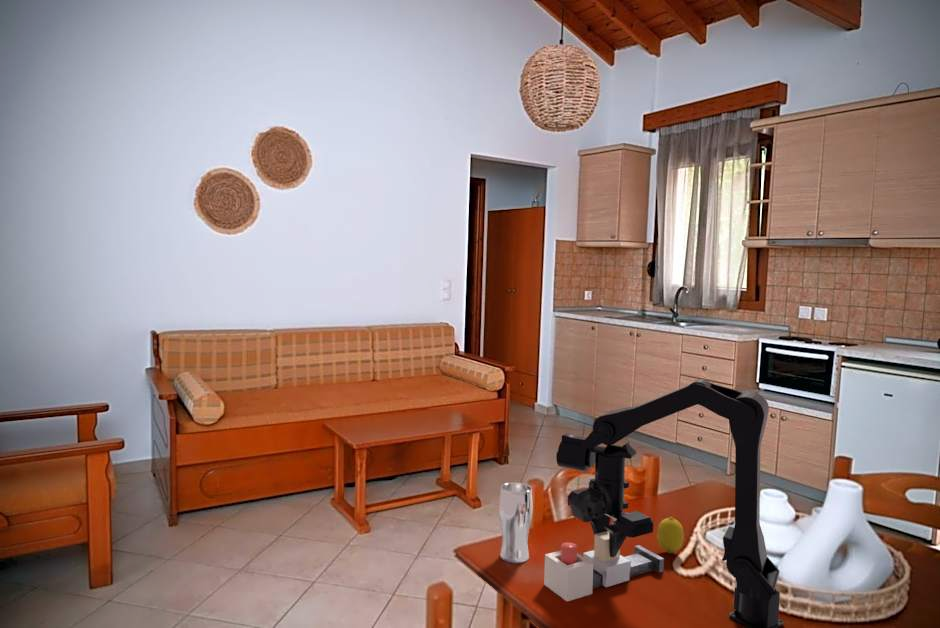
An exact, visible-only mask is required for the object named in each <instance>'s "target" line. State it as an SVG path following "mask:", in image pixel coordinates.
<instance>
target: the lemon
mask: <svg viewBox="0 0 940 628" xmlns="http://www.w3.org/2000/svg"><path fill="white" fill-rule="evenodd" d="M656 537H657V543H658V544H659V546H660V547H661V548H662V550H664V551H666V552H667V553H668V554H672V553H673V552H677V551H679V550H680V549H681V548H682V546H683V544H684V541H685V540H684V539H685V534H684V528H683V525H682V524H681V523H680V522H679V520H677V519H675V518H674V517H672V516H669V517H667V518H664V519H662V520H661V521H660V522H659V524H658V527H657V531H656Z"/></svg>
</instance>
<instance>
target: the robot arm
mask: <svg viewBox="0 0 940 628" xmlns="http://www.w3.org/2000/svg"><path fill="white" fill-rule="evenodd" d="M697 405H698V406H701V407H703V408H705V409H707V410H709V411H711V412H712V413H714V414H715V415H717V416H719V417H722V418H725V419H726V420H728V423H729V429H730V433H731V436H732V440H733V442H734V443H733V444H734V447H735V448H734V449H735V459H734V460H735V462H734V463H735V467H734V468H735V473H734V476H735V477H734V478H735V479H734V526H728V527H727V529H726V530H725V533H724V535H723V536H722V543H723V548H724V549H723V550H724V553H723V557H722V559H721V560H722V562H725V563H726V569H727V571H728V573H729V574H731V576H732V577H733V578H734V579H735V581H736V587H734V591H733V592H734V593H733V610H734V611H731V612H729V614H728V615H729V618H731V619H733V620H735V621H737V622H738V623H740V624H742V625H743V626H745V627H747V628H781V627H782V626H785V622H784V621H783V620H782V619H780V618H779V614H780V600H781V599H780V597H781V592H780V591H779V590H777V589H776V586H777V583H778V579H779V575H780V569H779V568H778V566H776V564H774V563H773V561H772V560H771V559H770V558H769V557H768V553H767V548H766V541H765V537H764V533H763V530H762V527H761V524H760V521H761V519H760V509H761V506H760V505H761V504H760V503H761V499H760V498H761V445H762V441H763V437H764V434H765V430H766V425H767V421H768V415H769V412H770V408H769V403H768V401H767V400H766V399H765V398H764V396H763V395H761V394H760V393H758V392H754V391H745V392H742V391H740V390H736V389H735V388H734V389H733V388H730V387H726V386H722V385H718V384H716V383H713V382H710V381H708V380H706V379H703V378H702V379H696V380H695V381H693V382H691V383H690V384H688V385H686V386H682V387H681V388H679V389H676V390H674V391H673V390H672V391H670V392H669V393H666V394H663V395H661V396H659V397H657V398H654V399H652V400H649V401H647V402H644V403H642V404H640V405H635V406H628V407H623V408H618V409H617V408H616V409H614V410H610V411H608V412H607V411H606V413H604V414H601V415H600V416H598V417H597V418H595V420H593V425H592V430H591V432H590V433H589V434H588V436H586V437H584V436H579V435H574V434H572V433H564V434H563V435H561V441H560V443H559V445H558V448H557V452H556V457H555V458H556V463H557V466H558V467H560V468H563V469H564V468H565V469H570V470H575V471H579V472H588V471H589V470H590V468H594V478H591V479H589V482H588V487H586V488H581V489H576V490H572V491H570V492H569V494H568V496H567V505H568V506H569V507H570V510H571V514H572V516H573V517H574V518H577V519H579V520H581V521H582V522H583V523H590V525H591V526H590V527H591V529H592V532H593V536H594V537H595V534H598V533H602V532H606V531H608V532H609V550H610V557H615V556H616V555H617V553H618V551H619V549H620V550H621V547H622V546H623V543H624V541H626V538H636V537H637V538H638V537H641V536H643V535H648V534H651V533H654V521H653V519H652V517H650V516H648V515H646V514H644V513H642V512H640V511H632V512H624V510H625V509H628V508H629V502H628V501H627V502H626V501H624V500H625V489H629V488H630V482H629V481H627V480H625V477H626V476H625V475H626V474H625V473H626V459H627V460H630V459H632V458H634V457H635V456H636V455H637V453H638V452H637V451H636V450H635V449H634V448H633V446H631V445H630V443H629V442H626V443H624V444H623V445H618V444H616V443H618V442H619V441H621V440H623V439H625V438H626V437H628V436H629V435H631V434H632V433H633V432H635V431H637V430H638V429H640V428H641V427H643V426H646V425H648V424H650V423H653V422H656V421H658V420H661V419H663V418H665V417H669V416H672V415H674V414H676V413H679V412H681V411H684V410H686V409H690V408H691V407H695V406H697ZM601 444H603V445H605V446H600V445H601ZM611 519H612V521H611Z"/></svg>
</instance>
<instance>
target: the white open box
mask: <svg viewBox="0 0 940 628" xmlns="http://www.w3.org/2000/svg"><path fill="white" fill-rule="evenodd" d="M543 579H544V582H543V583H544V584H543V585H544V586H545V587H547V588H548V589H550V590H551V591H552V592H553V593H554V594H556V595H557V596H559V597H561V599H563V601H566V602H570V601H574V600H578V599H581V598H583V597H588V596H590V595H593V589H594V588H593V562H591V561H589V560H588V559H586V558H585V557H583V555H581V554H580V553H578V552H577V563H574V564H570V565H566V564H564V563H563V562H561V550H558V551H554V552H550V553H545V554H544V576H543Z"/></svg>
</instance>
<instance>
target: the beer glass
mask: <svg viewBox="0 0 940 628" xmlns="http://www.w3.org/2000/svg"><path fill="white" fill-rule="evenodd" d="M533 503H534V502H533V487H532V486H531V485H530V484H528V483H523V482H517V481H516V482H515V481H513V482H506V483H504V484H501V486H500V494H499V504H498V506H499V510H498V511H499V520H500V527H501V535H502V541H501V549H500V554H499V555H500V558H501V560H503V561H504V562H507V563H512V564H522V563H524V562H527V561H528V560H529V558H530V554H529V553H530V552H529V547H528V539H529V533H530V529H531V524H532V518H533V505H534V504H533Z"/></svg>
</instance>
